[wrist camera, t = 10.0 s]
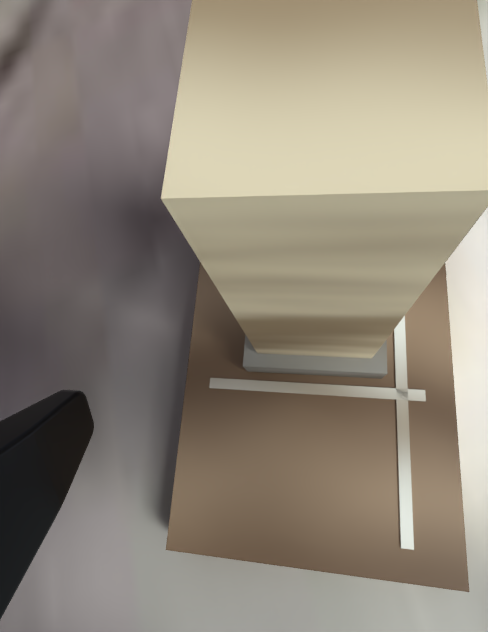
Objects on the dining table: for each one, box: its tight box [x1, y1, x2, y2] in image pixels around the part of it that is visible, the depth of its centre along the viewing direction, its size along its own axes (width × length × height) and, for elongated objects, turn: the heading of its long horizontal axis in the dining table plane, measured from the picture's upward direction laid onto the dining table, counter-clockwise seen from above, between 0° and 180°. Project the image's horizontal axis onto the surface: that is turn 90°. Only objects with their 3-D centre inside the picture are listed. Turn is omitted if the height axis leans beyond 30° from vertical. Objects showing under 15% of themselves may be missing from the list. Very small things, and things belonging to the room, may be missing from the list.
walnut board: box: [166, 262, 469, 592], centre depth 17 cm, size 24×10×2 cm, turn 175°
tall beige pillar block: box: [161, 0, 488, 379], centre depth 10 cm, size 5×5×11 cm
